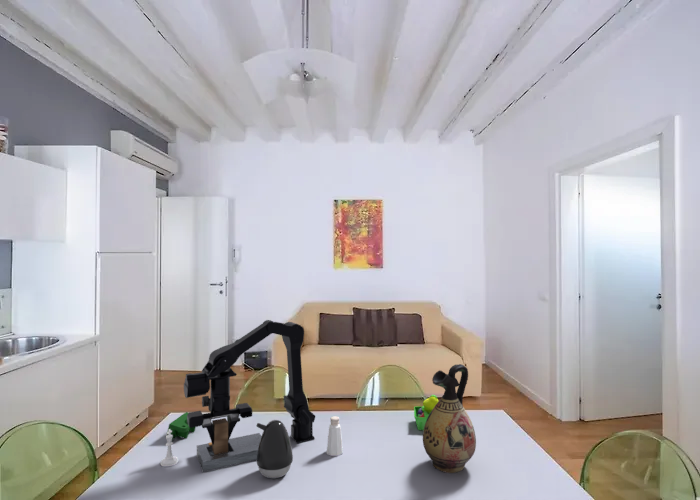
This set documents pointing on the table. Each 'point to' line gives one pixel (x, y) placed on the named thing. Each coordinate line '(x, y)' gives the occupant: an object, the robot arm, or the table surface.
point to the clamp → (180, 427)
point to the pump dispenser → (274, 450)
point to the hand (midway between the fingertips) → (220, 442)
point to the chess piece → (169, 452)
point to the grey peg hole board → (229, 453)
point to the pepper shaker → (334, 438)
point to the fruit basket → (424, 411)
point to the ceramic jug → (449, 425)
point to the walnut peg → (220, 436)
